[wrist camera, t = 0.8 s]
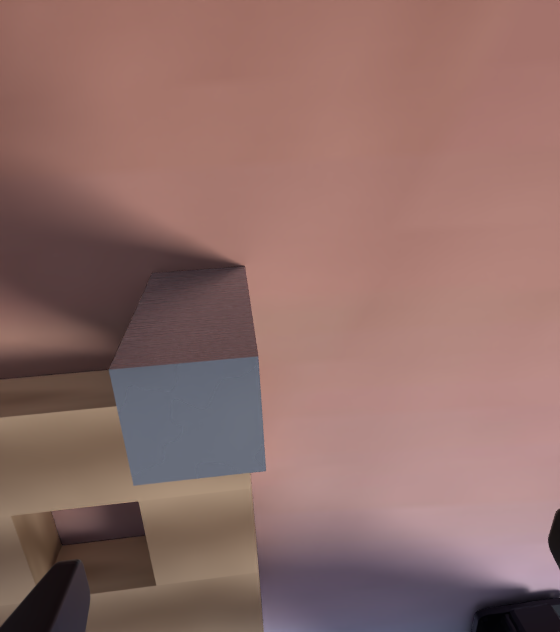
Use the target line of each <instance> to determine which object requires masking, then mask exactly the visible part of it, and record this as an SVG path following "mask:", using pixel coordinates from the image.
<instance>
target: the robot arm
mask: <svg viewBox="0 0 560 632" xmlns="http://www.w3.org/2000/svg"><path fill="white" fill-rule="evenodd" d="M548 543H549V548H550V551H551V553H552V555H553V557H554V559H555V561H556V563H557V565H558V567H559V569H560V509H558V510H557V511H556V513H555V516H554V520H553V523H552V526H551V530H550V533H549V537H548ZM89 606H90V588H89V584H88V580H87V576H86V573H85V569H84V565H83V562H82V561H81V560H80V559H73V560H63V561H58V562H57V563H55V564H54V565H53V566H52V567H51V568H50V569H49V571H48V572H47V573H46V574H45V575H44V576H43V577H42V579H41V580H40V581H39V582H38V583H37V584H36V586H35V587H34V588H33V589H32V590H31V591H30V593H29V594H28V595H27V596H26V597H25V598H24V600H23V601H22V602H21V603H20V604H19V605H18V607H17V608H16V609H15V610H14V611H13V612H12V613H11V615H10V616H9V617H8V618H7V619H6V620H5V622H4V623H3V624H2V625H1V626H0V632H85V631H86V625H87V619H88V613H89ZM472 632H560V598H555V599H548V600H541V601H534V602H527V603H520V604H513V605H506V606H499V607H492V608H485V609H481V610H479V611H477V612H476V613H475V616H474V622H473V627H472Z"/></svg>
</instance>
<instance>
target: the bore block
mask: <svg viewBox="0 0 560 632" xmlns="http://www.w3.org/2000/svg"><path fill="white" fill-rule="evenodd" d="M136 501H138V502H139V506H140V511H141V516H142V521H143V525H144V530H145V535H146V536H138V537H130V538H122V539H113V540H105V541H97V542H89V543H80V544H72V545H64V546H62V545H61V542H60V538H59V535H58V532H57V529H56V526H55V522H54V519H53V516H52V513H51V511H58V510H66V509H75V508H84V507H93V506H101V505H110V504H119V503H128V502H136ZM73 559H80V560H81V561H82V562H83V565H84V569H85V573H86V576H87V580H88V584H89V588H90V606H89V613H88V619H87V625H86V631H85V632H264V630H263V617H262V604H261V592H260V579H259V568H258V556H257V544H256V532H255V521H254V509H253V497H252V486H251V474H250V473H244V474H235V475H226V476H217V477H208V478H199V479H190V480H181V481H172V482H163V483H154V484H145V485H136V486H133V481H132V476H131V472H130V467H129V462H128V458H127V453H126V448H125V444H124V439H123V434H122V430H121V425H120V420H119V416H118V411H117V406H116V402H115V397H114V392H113V388H112V383H111V378H110V374H109V370H101V371H90V372H79V373H68V374H57V375H46V376H35V377H24V378H12V379H1V380H0V626H1V625H2V624H3V623H4V622H5V620H6V619H7V618H8V617H9V616H10V615H11V613H12V612H13V611H14V610H15V609H16V608H17V607H18V605H19V604H20V603H21V602H22V601H23V600H24V598H25V597H26V596H27V595H28V594H29V593H30V591H31V590H32V589H33V588H34V587H35V586H36V584H37V583H38V582H39V581H40V580H41V579H42V577H43V576H44V575H45V574H46V573H47V572H48V571H49V569H50V568H51V567H52V566H53V565H54V564H55V563H57V562H58V561H63V560H73Z"/></svg>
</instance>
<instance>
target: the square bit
mask: <svg viewBox="0 0 560 632" xmlns="http://www.w3.org/2000/svg"><path fill="white" fill-rule="evenodd" d="M109 374H110V378H111V383H112V388H113V392H114V397H115V402H116V406H117V411H118V416H119V420H120V425H121V430H122V434H123V439H124V444H125V448H126V453H127V458H128V462H129V467H130V472H131V476H132V481H133V486H136V485H145V484H154V483H163V482H172V481H181V480H190V479H199V478H208V477H217V476H226V475H235V474H244V473H253V472H262V471H266V464H265V449H264V434H263V420H262V405H261V390H260V375H259V360H258V351H257V345H256V338H255V331H254V324H253V317H252V311H251V304H250V297H249V290H248V284H247V277H246V270H245V266H242V267H228V268H214V269H201V270H187V271H173V272H159V273H152V275H151V277H150V279H149V281H148V284H147V286H146V288H145V290H144V292H143V295H142V297H141V299H140V301H139V304H138V306H137V308H136V310H135V312H134V315H133V317H132V319H131V321H130V324H129V326H128V328H127V330H126V332H125V335H124V337H123V339H122V341H121V344H120V346H119V348H118V350H117V352H116V355H115V357H114V359H113V361H112V364H111V366H110V368H109Z"/></svg>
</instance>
